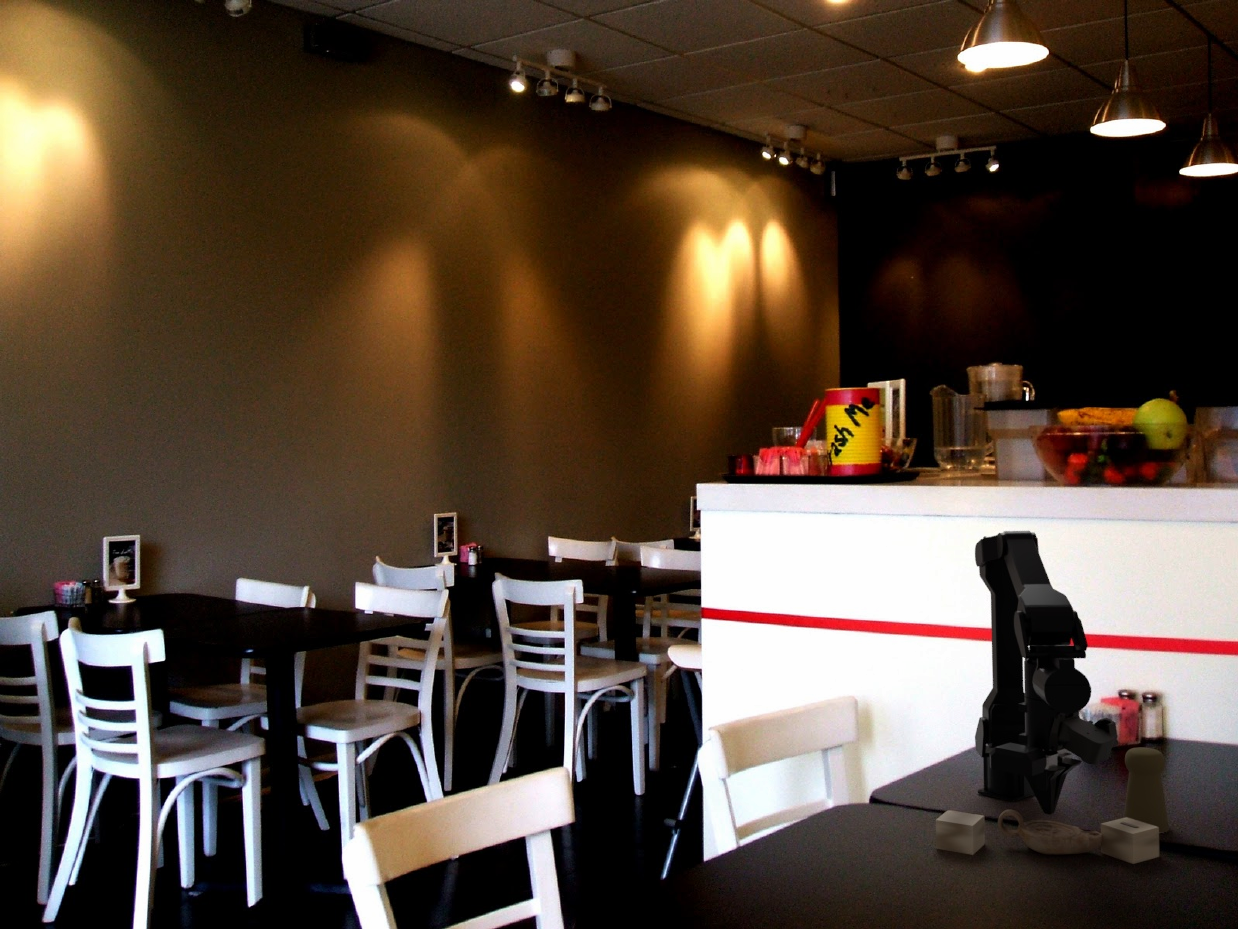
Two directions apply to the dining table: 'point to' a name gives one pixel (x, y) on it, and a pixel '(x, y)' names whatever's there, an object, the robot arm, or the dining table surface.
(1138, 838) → the beech block right
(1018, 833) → the oil lamp
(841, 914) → the dining table surface
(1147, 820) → the pepper shaker
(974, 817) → the beech block left
